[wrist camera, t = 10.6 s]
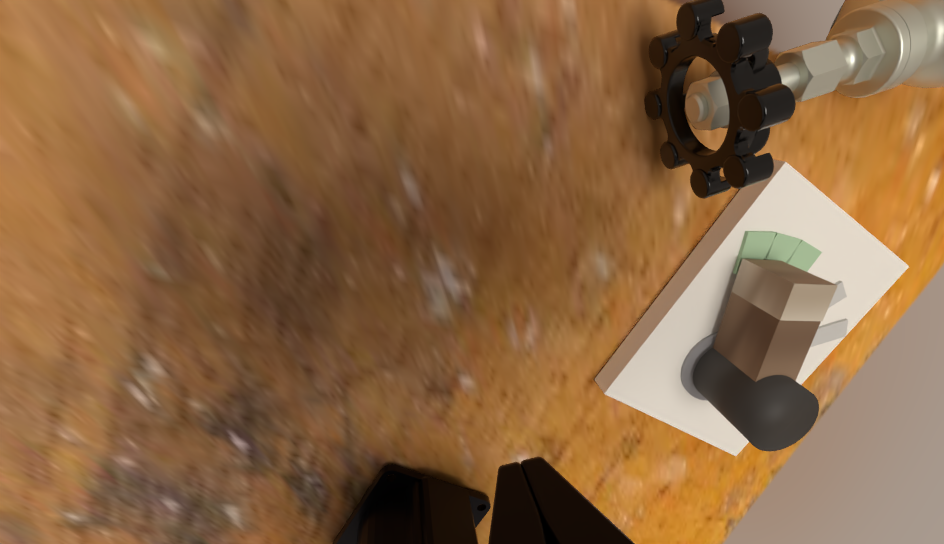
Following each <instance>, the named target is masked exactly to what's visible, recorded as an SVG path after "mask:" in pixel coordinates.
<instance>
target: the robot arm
mask: <svg viewBox="0 0 944 544" xmlns="http://www.w3.org/2000/svg"><path fill="white" fill-rule="evenodd" d="M390 474H393V475H392V476H388V475H390ZM480 504H482V505H480ZM489 509H490V501H489V498H488V496H486V495H483V494H480V493H477V492H474V491H471V490H468V489H466V488H463V487H460V486H457V485H454V484H451V483H448V482H445V481H442V480H439V479H436V478H433V477H430V476H427V475H424V474H421V473H418V472H415V471H412V470H409V469H406V468H403V467H400V466H397V465H393V464H391V465H387V466H385V467H384V468H383V469H382V470H381V471H380V473H379V474H378V476H377V478H376V479H375V481H374V482H373V484H372V485H371V487H370V488H369V490H368V491H367V493H366V494H365V496H364V497H363V499H362V500H361V502H360V503H359V505H358V506H357V508H356V509H355V511H354V512H353V514H352V515H351V517H350V518H349V520H348V521H347V523H346V524H345V526H344V527H343V529H342V530H341V532H340V533H339V535H338V536H337V538H336V539H335V541H334V542H333V544H478V540H477V534H476V529H475V528H476V527H477V525H478V524H479V523H480V521H481V520H482V519H483V518H484V516H485V515H486V514H487V512H488V511H489ZM489 544H634V543H633V542H632V541H631V540H630V539H629V538H628V537H627V536H626V535H625V534H624V533H623V532H622V531H621V530H619V529H618V528H617V527H616V526H615V525H614V524H613V523H612V522H611V521H610V520H609V519H608V518H607V517H606V516H604V515H603V514H602V513H601V512H600V511H599V510H598V509H597V508H596V507H595V506H594V505H593V504H592V503H591V502H589V501H588V500H587V499H586V498H585V497H584V496H583V495H582V494H581V493H580V492H579V491H578V490H577V489H576V488H574V487H573V486H572V485H571V484H570V483H569V482H568V481H567V480H566V479H565V478H564V477H563V476H562V475H560V474H559V473H558V472H557V471H556V470H555V469H554V468H553V467H552V466H551V465H550V464H549V463H548V462H547V461H545V460H544V459H543V458H542V457H535V458H531V459H526V460H523V461H522V462H521V464H520V463H518V462H514V463H510V464H506V465H502V466H500V467H499V469H498V476H497V483H496V491H495V498H494V506H493V514H492V521H491V529H490V536H489Z"/></svg>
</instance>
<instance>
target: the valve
mask: <svg viewBox="0 0 944 544" xmlns="http://www.w3.org/2000/svg"><path fill="white" fill-rule="evenodd" d="M722 13H724V5H723V2H722V0H693V1H690V2H686V3H684V4H683V5H682V6H681V7H680V9H679V11H678V14H677V20H676V24H677V30H674V31H671V32H668V33H665V34H662V35H659V36H656V37H654V38H653V39H652V40H651V42H650V46H649V57H650V60H651V63H652V64H653V66H654V67H655V68H657V69H660V71H661V74H662V83H661V88H659V89H656V90H653V91H650V92H648V93H647V95H646V97H645V110H646V113H647V115H648V116H649V117H650V118H651V119H653V120H657V119H660V118H662V119H663V121H664V123H665V126H666V130H667V133H668V141H667V142H664V143H663V144H662V146H661V149H660V155H661V159H662V162H663V164H664V165H665V166H666V167H667V168H668V169H675V168H678V167H680V166H683V165H686V164H690V165H691V167H692V170H693V172H692V174H691V177H690V183H691V187H692V190H693V192H694V193H695V194H696V195H697V196H698V197H699V198H708V197H710V196H713V195H716V194H719V193H722V192H725V191H728V190H729V189H730V188H731V186H732V187H734V188H737V189H740V188H744V187H747V186H750V185H753V184H756V183H759V182H761V181H764V180H767V179H769V178H770V177H771V175H772V173H773V170H774V162H773V159H772V156H771V154H770V153H766V154H763V155H760V156H757V157H756V156H755V155H754V154H756V153H757V152H758V151H760V150H761V149H762V148H763V147H764V146H765V144H766V142H767V140H768V137H769V134H770V127H771V126H774V125H777V124H780V123H783V122H786V121H787V120H789V119H790V118H791V116H792V115H793V113H794V110H795V102H802V101H805V100H808V99H811V98H814V97H817V96H820V95H823V94H826V93H829V92H832V91H834V90H836V91H838V92H839V93H840V94H843V95H845V96H848V97H854V98H861V97H867V96H870V95H873V94H876V93H879V92H882V91H885V90H888V89H891V88H894V87H896V86H898V85H900V84H903V85H908V86H913V87H920V88H937V87H944V0H845V2H844V3H843V5H842V6H841V8H840V10H839V12H838V14H837V16H836V18H835V20H834V21H833V24H832V26H831V29H830V31H829V34H828V36H827V38H826V41H819V42H811V43H809V44H805V45H802V46H799V47H796V48H793V49H790V50H787V51H784V52H781V53H779V55H778V56H777V58H776V60H775V62H774V63H773V62H772V61H770V60H769V59H768V55H769V48H768V47H769V45H770V43H771V40H772V35H773V29H772V24H771V22H770V20H769V18H768V17H767V16H766V15H764V14H762V13H756V14H753V15H749V16H747V17H743V18H740V19H737V20H734V21H731V22H728V23H726V24H724V25H723V26H722V27H721V29H720V30H719V32H718V34H716V33H712V31H711V17H713V16H716V15H719V14H722ZM697 56H699V57H701V58H703V59H706V60H707V61H708V62H710V63H711V64H712V65H713V67H714V68H715V69H716V71H714V72H713V73H712V74H711V75H710V76H709V77H708V78H705V79H702V80H699V81H696V82H693V83H691V84H690V86H689V89H688V90H687V91H684V92H683V84H684V79H685V75H686V72H687V70H688V67H689V66H690V64H691V63H692V61H693V60H694V59H695V58H696V57H697ZM684 108H685V111H686V114H687V117H688V118H689V120H690V122H691V124H692V125H693V127H694V128H695V129H699V130H713V129H716V128H719V127H721V128H728V130H727V134H726V137H725V140H724V142H723V144H722V145H721V147H720V148H719V149H718V150H717V151H714V150H711V149H709V148H707V147H705V146H704V145H703V144H702V143H700V142H699V140H698V139H697V138H696V137H695V136H694V134H693V132H692V131H691V129H690V127H689V124H688V122H687V119H686V115H685V111H684ZM721 168H723V172H724V176H725V177H722V176H720V169H721Z"/></svg>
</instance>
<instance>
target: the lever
mask: <svg viewBox="0 0 944 544" xmlns="http://www.w3.org/2000/svg"><path fill="white" fill-rule="evenodd" d="M837 286H838V285H836V284H833V283H831V282H829V281H827V280H824V279H822V278H820V277H817V276H815V275H813V274H811V273H808V272H806V271H804V270H802V269H799V268H797V267H795V266H793V265H790V264H788V263H786V262H783V261H779V260H760V259H742V262H741V265H740V267H739V270H738V273H737V276H736V279H735V282H734V285H733V288H732V291H731V295H730V298H729V301H728V304H727V307H726V310H725V313H724V316H723V319H722V322H721V324H720V327H719V330H718V333H717V336H716V339H715V342H714V345H713V348H711V349H710V350H708V351H707V352H706V353H705V354H704V355H703V356H702V357H701V358H700V360H699V361H698V363H697V365H696V367H695V369H694V373H693V383H694V386H695V388H696V389H697V390H698V392H700V393H701V394H702V395H703V396H704V397H705V398H706V399H707V400H708V401H709V402H710V403H711V404H712V405H713V406H714V407H715V408H716V409H717V410H718V411H719V412H720V413H721V414H722V415H723V416H724V417H725V418H726V419H727V420H728V421H729V422H730V423H731V424H732V425H733V426H734V427H735V428H736V429H737V430H738V431H739V432H740V433H741V434H742V435H743V436H744V437H745V438H746V439H747V440H748V441H749V442H750V443H751V444H752V445H753V446H755V447H756V448H758V449H760V450H763V451H776V450H781V449H784V448H786V447H788V446H790V445H792V444H794V443H796V442H797V441H798V440H800V439H801V438H802V437H803V436H804V435H805V434H806V433H807V432H808V431H809V430H810V429H811V427H812V426H813V424H814V423H815V421H816V418H817V416H818V411H819V404H818V400H817V398H816V397H815V395H814V394H812V393H811V392H810V391H808V390H807V389H806V388H804V387H803V386H801V385H800V384H799V383H797V382H796V379H797V376H798V374H799V372H800V369H801V367H802V365H803V362H804V360H805V358H806V355H807V353H808V351H809V348H810V346H811V344H812V341H813V339H814V337H815V334H816V332H817V330H818V327H819V325H820V323H821V321H823V319H824V317H825V314H826V312H827V310H828V307H829V305H830V303H831V300H832V298H833V296H834V293H835V291H836V289H837Z"/></svg>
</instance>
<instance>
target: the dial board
mask: <svg viewBox="0 0 944 544" xmlns="http://www.w3.org/2000/svg"><path fill="white" fill-rule="evenodd" d="M773 162H774V170H773V173H772V175H771V177H770V178H769V179H767V180H764V181H761V182H759V183H756V184H753V185H750V186H747V187H744V188H741V189H740V190H739V192H738V193H737V194H736V195H735V197H734V198H733V199H732V201H731V202H730V203H729V205H728V206H727V207H726V209H725V210H724V211H723V212H722V214H721V215H720V216H719V218H718V219H717V220H716V222H715V223H714V224H713V225H712V227H711V228H710V229H709V231H708V232H707V233H706V235H705V236H704V237H703V238H702V240H701V241H700V242H699V244H698V245H697V246H696V248H695V249H694V250H693V251H692V253H691V254H690V255H689V257H688V258H687V259H686V261H685V262H684V263H683V264H682V266H681V267H680V268H679V270H678V271H677V272H676V274H675V275H674V276H673V278H672V279H671V280H670V281H669V283H668V284H667V285H666V287H665V288H664V289H663V291H662V292H661V293H660V294H659V296H658V297H657V298H656V300H655V301H654V302H653V304H652V305H651V306H650V307H649V309H648V310H647V311H646V313H645V314H644V315H643V317H642V318H641V319H640V320H639V322H638V323H637V324H636V326H635V327H634V328H633V330H632V331H631V332H630V333H629V335H628V336H627V337H626V339H625V340H624V341H623V343H622V344H621V345H620V347H619V348H618V349H617V350H616V352H615V353H614V354H613V356H612V357H611V358H610V360H609V361H608V362H607V363H606V365H605V366H604V367H603V369H602V370H601V371H600V373H599V374H598V375H597V376H596V378H595V379H594V380H595V381H596V383H597V384H598V386H599V387H600V388H601V390H602V391H603V393H604V394H606V395H608V396H610V397H612V398H614V399H616V400H618V401H621V402H623V403H625V404H627V405H629V406H631V407H633V408H635V409H637V410H640V411H642V412H644V413H646V414H648V415H650V416H652V417H654V418H656V419H659V420H661V421H663V422H665V423H667V424H669V425H671V426H673V427H675V428H678V429H680V430H682V431H684V432H686V433H688V434H690V435H692V436H694V437H697V438H699V439H701V440H703V441H705V442H707V443H709V444H711V445H713V446H716V447H718V448H720V449H722V450H724V451H726V452H728V453H730V454H732V455H735V456H737V454H738V453H739V452H740V451H741V450H742V449H743V448H744V447H745V446H746V445H747V443H748V442H749V441H748V440H747V439H746V438H745V437H744V436H743V435H742V434H741V433H740V432H739V431H738V430H737V429H736V428H735V427H734V426H733V425H732V424H731V423H730V422H729V421H728V420H727V419H726V418H725V417H724V416H723V415H722V414H721V413H720V412H719V411H718V410H717V409H716V408H715V407H714V406H713V405H712V404H711V403H710V402H709V401H708V400H707V399H706V398H705V397H704V396H703V395H702V394H701V393H700V392H698V390H697V389H696V388H695V386H694V383H693V373H694V369H695V367H696V365H697V363H698V361H699V360H700V358H701V357H702V356H703V355H704V354H705V353H706V352H707V351H708V350H710V349H711V348H713V345H714V342H715V339H716V336H717V333H718V330H719V327H720V324H721V322H722V319H723V316H724V313H725V310H726V307H727V304H728V301H729V298H730V295H731V291H732V288H733V285H734V282H735V279H736V276H737V273H738V270H739V267H740V265H741V262H742V259H760V260H779V261H783V262H786V263H788V264H790V265H793V266H795V267H797V268H799V269H802V270H804V271H806V272H808V273H811V274H813V275H815V276H817V277H820V278H822V279H824V280H827V281H829V282H831V283H833V284H836V285H838V286H837V289H836V291H835V293H834V296H833V298H832V300H831V303H830V305H829V307H828V310H827V312H826V314H825V317H824V319H823V321H821V323H820V325H819V327H818V330H817V332H816V334H815V337H814V339H813V341H812V344H811V346H810V348H809V351H808V353H807V355H806V358H805V360H804V362H803V365H802V367H801V369H800V372H799V374H798V376H797V379H796V382H797V383H799V384H800V385H801V384H802V383H803V382H804V381H805V380H806V379H807V378H808V377H809V376H810V375H811V373H812V372H813V371H814V370H815V369H816V368H817V367H818V366H819V365H820V364H821V362H822V361H823V360H824V359H825V358H826V357H827V356H828V355H829V354H830V353H831V352H832V350H833V349H834V348H835V347H836V346H837V345H838V344H839V343H840V342H841V341H842V339H843V338H844V337H846V335H847V334H848V333H849V332H850V331H851V330H852V329H853V327H854V326H855V325H856V324H857V323H858V322H859V321H860V320H861V319H862V318H863V317H864V315H865V314H866V313H867V312H868V311H869V310H870V309H871V308H872V307H873V306H874V304H875V303H876V302H877V301H878V300H879V299H880V298H881V297H882V296H883V295H884V294H885V292H886V291H887V290H888V289H889V288H890V287H891V286H892V285H893V284H894V283H895V281H896V280H897V279H898V278H899V277H900V276H901V275H902V274H903V273H904V272H905V271H906V269H907V268H908V267H909V266H908V265H907V264H906V263H905V262H903V261H902V260H901V259H900V258H899V257H898V256H896V255H895V254H894V253H893V252H892V251H890V250H889V249H888V248H887V247H886V246H885V245H883V244H882V243H881V242H880V241H879V240H877V239H876V238H875V237H874V236H873V235H872V234H870V233H869V232H868V231H867V230H866V229H865V228H863V227H862V226H861V225H860V224H859V223H857V222H856V221H855V220H854V219H853V218H852V217H850V216H849V215H848V214H847V213H846V212H844V211H843V210H842V209H841V208H840V207H839V206H837V205H836V204H835V203H834V202H833V201H831V200H830V199H829V198H828V197H827V196H826V195H824V194H823V193H822V192H821V191H820V190H818V189H817V188H816V187H815V186H814V185H813V184H811V183H810V182H809V181H808V180H807V179H805V178H804V177H803V176H802V175H801V174H800V173H798V172H797V171H796V170H795V169H794V168H793V167H791V166H790V165H789V164H788V163H787V162H784V161H779V160H773Z"/></svg>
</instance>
